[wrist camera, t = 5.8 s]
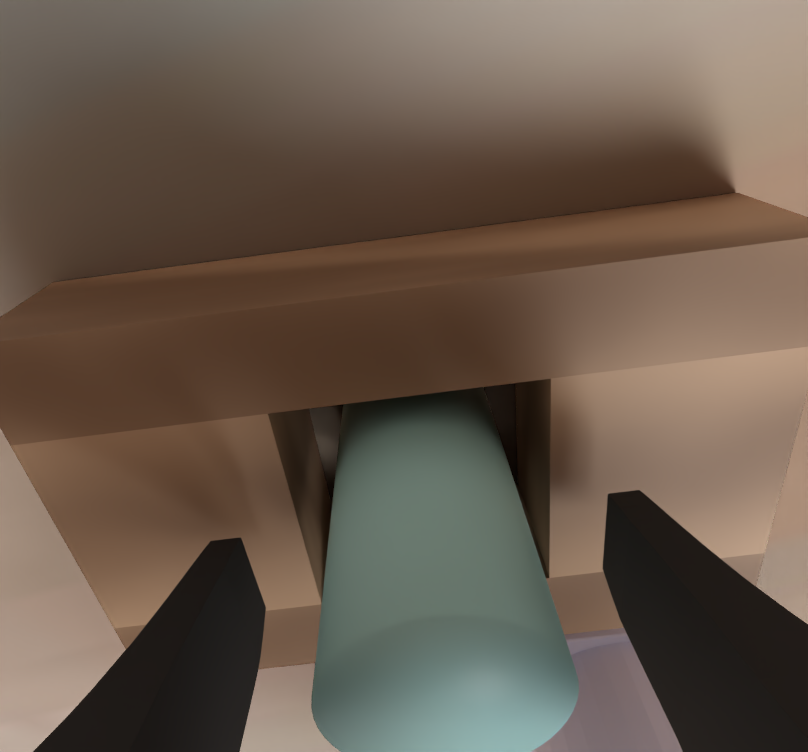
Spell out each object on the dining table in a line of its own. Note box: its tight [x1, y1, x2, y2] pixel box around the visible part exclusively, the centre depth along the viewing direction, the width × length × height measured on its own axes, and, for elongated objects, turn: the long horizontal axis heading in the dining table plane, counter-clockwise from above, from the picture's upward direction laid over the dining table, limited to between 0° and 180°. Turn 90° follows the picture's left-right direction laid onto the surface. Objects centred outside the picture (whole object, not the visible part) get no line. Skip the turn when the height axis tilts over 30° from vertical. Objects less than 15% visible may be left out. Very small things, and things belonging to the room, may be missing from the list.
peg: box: [312, 387, 579, 752], centre depth 12 cm, size 4×4×8 cm
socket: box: [0, 193, 808, 669], centre depth 14 cm, size 10×16×4 cm, turn 97°
